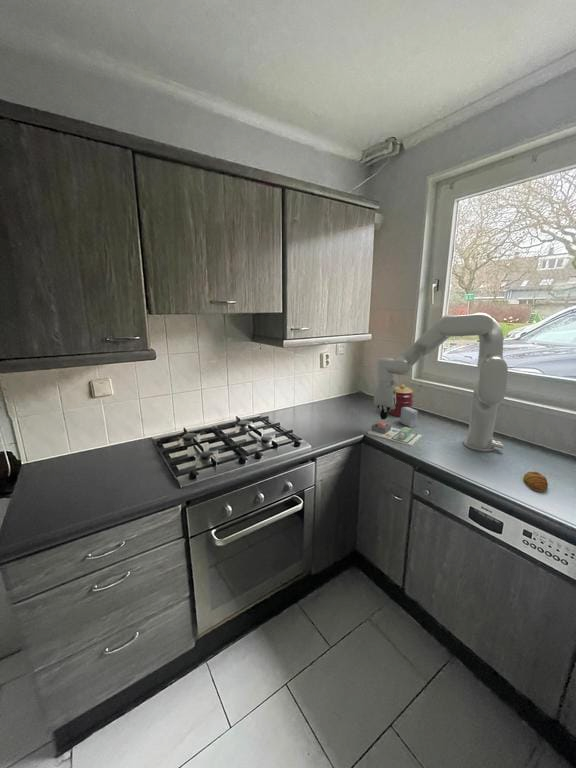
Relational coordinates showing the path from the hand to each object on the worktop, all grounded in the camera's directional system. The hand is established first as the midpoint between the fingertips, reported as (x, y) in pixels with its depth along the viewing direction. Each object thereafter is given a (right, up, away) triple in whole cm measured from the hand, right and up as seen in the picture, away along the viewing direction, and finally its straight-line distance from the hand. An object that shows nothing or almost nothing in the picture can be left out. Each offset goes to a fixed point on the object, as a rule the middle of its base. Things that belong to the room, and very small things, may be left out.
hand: (383, 418), depth 159 cm
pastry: (+41, -19, -45) cm, 64 cm away
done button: (-1, -6, +2) cm, 6 cm away
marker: (+9, -8, -5) cm, 13 cm away
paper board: (+5, -8, -2) cm, 9 cm away
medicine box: (+16, -5, +11) cm, 20 cm away
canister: (+18, 0, +27) cm, 33 cm away
